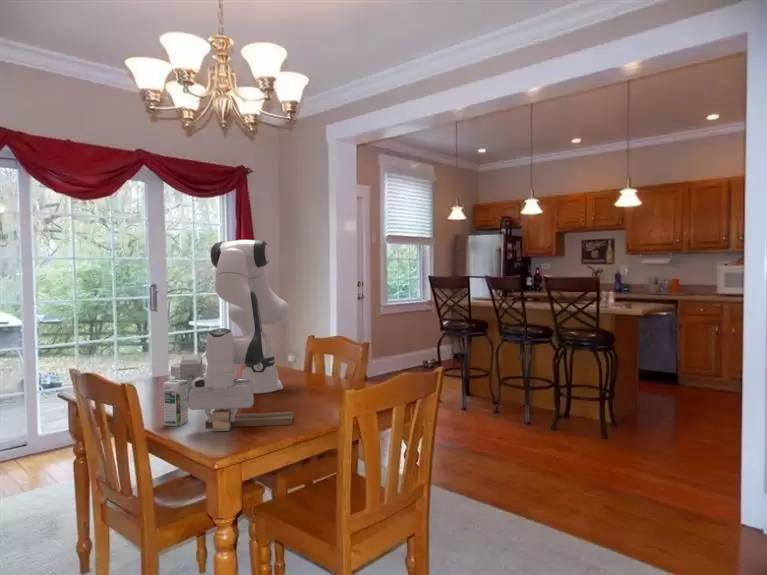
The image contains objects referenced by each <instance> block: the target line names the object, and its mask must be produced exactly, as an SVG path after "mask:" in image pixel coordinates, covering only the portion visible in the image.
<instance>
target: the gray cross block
mask: <svg viewBox="0 0 767 575" xmlns="http://www.w3.org/2000/svg"><path fill="white" fill-rule="evenodd" d="M180 363H181V362H176V363H173V364H170V376H171V377H174V378H175V380H181V375H180ZM206 364H207V362H204V361H202V366H203V375H206V370H207V366H206Z"/></svg>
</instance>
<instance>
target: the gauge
mask: <svg viewBox="0 0 767 575" xmlns="http://www.w3.org/2000/svg"><path fill="white" fill-rule="evenodd" d="M231 414H232V408H231V409H213V411H212V414H211V415H212V416H213V428H212V431H213V432H227V431H229V432H230V430H231V428H232V427H231V422H229V420H230V419H229V417H230V415H231Z"/></svg>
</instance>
